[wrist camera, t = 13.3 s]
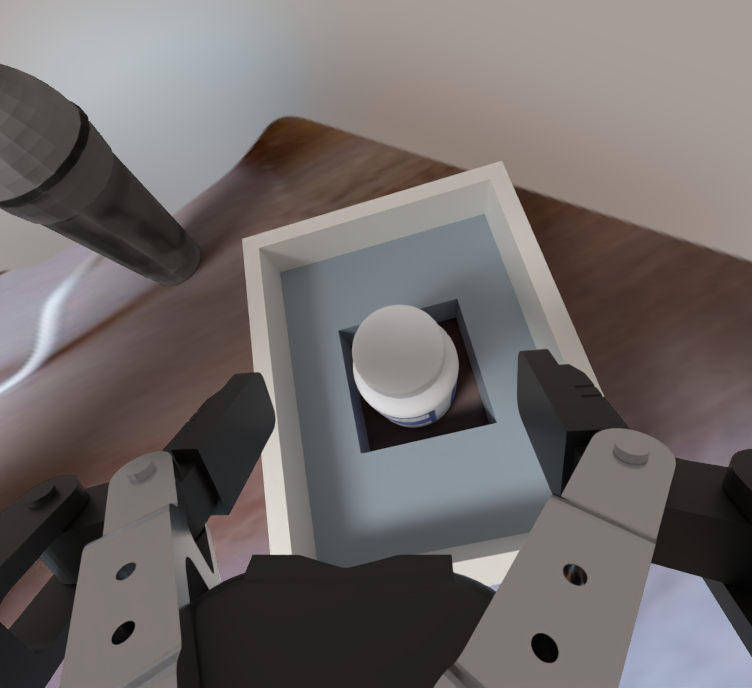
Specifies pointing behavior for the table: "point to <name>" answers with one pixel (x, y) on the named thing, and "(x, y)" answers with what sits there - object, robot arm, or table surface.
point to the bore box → (341, 396)
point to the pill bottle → (405, 365)
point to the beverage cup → (82, 184)
